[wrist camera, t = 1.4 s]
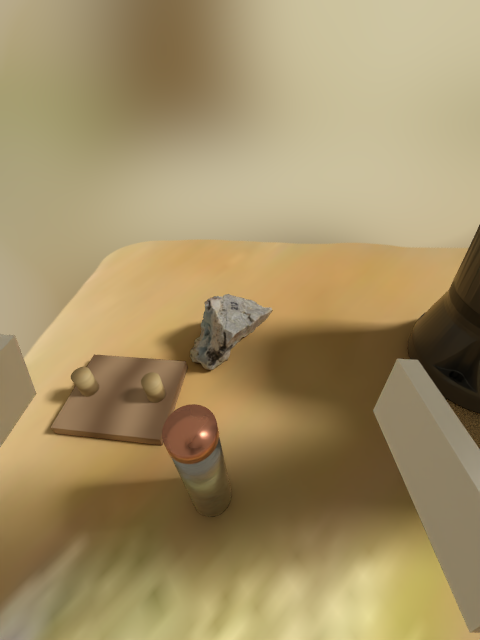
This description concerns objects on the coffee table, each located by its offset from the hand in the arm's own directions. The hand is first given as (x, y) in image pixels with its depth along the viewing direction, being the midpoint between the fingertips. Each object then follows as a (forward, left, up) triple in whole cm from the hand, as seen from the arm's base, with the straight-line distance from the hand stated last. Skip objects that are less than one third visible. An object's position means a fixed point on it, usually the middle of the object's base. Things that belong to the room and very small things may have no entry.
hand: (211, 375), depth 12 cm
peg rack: (+15, -12, -22) cm, 30 cm away
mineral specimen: (+5, -22, -22) cm, 32 cm away
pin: (+3, -3, -22) cm, 23 cm away
